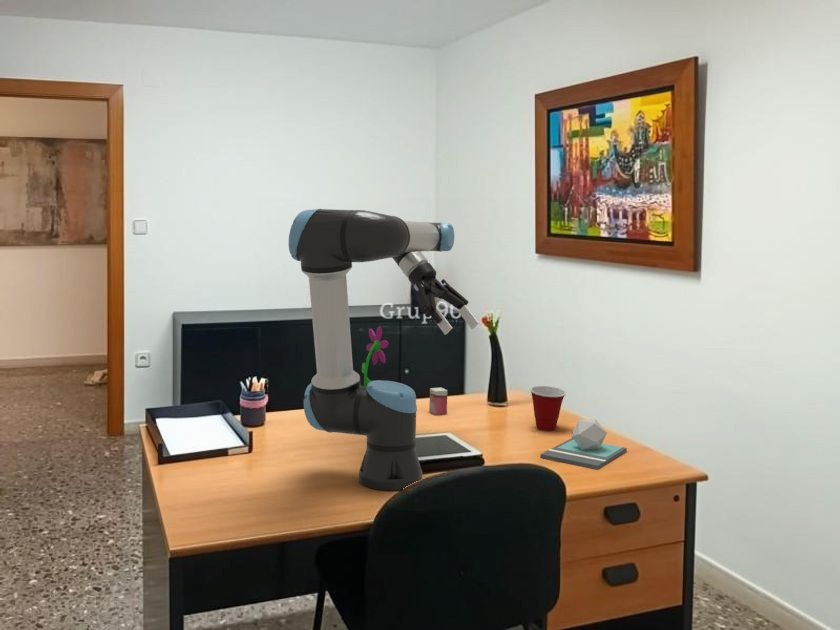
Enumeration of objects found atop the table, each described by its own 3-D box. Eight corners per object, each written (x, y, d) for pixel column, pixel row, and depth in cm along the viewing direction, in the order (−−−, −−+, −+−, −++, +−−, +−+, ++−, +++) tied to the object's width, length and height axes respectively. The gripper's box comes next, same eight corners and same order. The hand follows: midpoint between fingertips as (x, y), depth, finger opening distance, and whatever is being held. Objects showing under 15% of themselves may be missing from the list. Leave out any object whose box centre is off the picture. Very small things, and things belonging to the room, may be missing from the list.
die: (602, 457, 214) (615, 425, 217) (574, 441, 213) (588, 409, 216) (589, 459, 221) (602, 428, 225) (562, 443, 221) (576, 413, 224)
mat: (597, 469, 204) (597, 465, 204) (540, 457, 213) (540, 453, 213) (626, 451, 221) (626, 447, 220) (572, 441, 230) (572, 437, 230)
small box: (428, 411, 261) (429, 387, 260) (441, 410, 263) (441, 387, 262) (434, 415, 256) (435, 391, 255) (447, 414, 258) (447, 390, 257)
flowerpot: (398, 427, 242) (399, 327, 238) (356, 433, 234) (357, 331, 230) (373, 416, 253) (374, 322, 250) (332, 422, 245) (333, 324, 242)
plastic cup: (549, 435, 235) (550, 395, 234) (521, 427, 244) (522, 388, 242) (572, 429, 243) (574, 390, 241) (544, 422, 251) (545, 384, 249)
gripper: (435, 276, 238) (477, 332, 231) (383, 281, 218) (428, 342, 211) (450, 259, 234) (494, 315, 227) (399, 263, 214) (445, 324, 207)
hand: (462, 328), depth 219 cm, fingers open, 13 cm apart
